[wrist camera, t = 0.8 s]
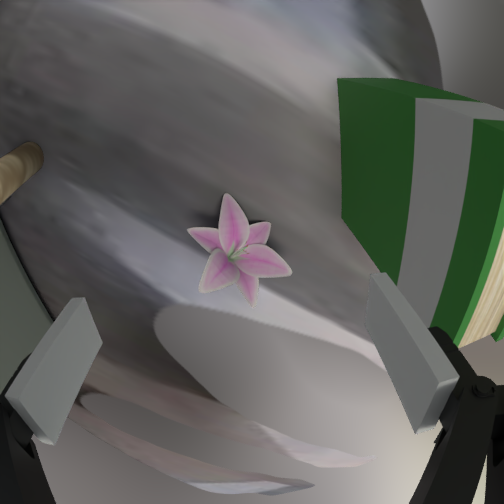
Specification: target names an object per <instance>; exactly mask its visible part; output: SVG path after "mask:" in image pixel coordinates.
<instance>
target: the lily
mask: <svg viewBox="0 0 504 504" xmlns="http://www.w3.org/2000/svg"><path fill="white" fill-rule="evenodd" d="M270 229H271V223H269V222H259V223H255V224H252V225H249V223H248V220H247V218H246V216H245V214H244V212H243V211H242V209H241V208H240V206H239V205H238V203H237V202H236V201H235V200H234V198H233V197H232V196H231V195H230V194H227V193H225V194H224V196H223V200H222V206H221V213H220V219H219V227H218V229H216V228H209V227H194V228H189V229H187V231H188V233H189V234H190V235H191V236H192V237H193V238H194V239H195V240H196V241H197V242H198V243H199V244H200V245H201V246H202V247H203V248H204V249H206V250H207V251H208V252H209V253H210V254H211V255H210V257H209V259H208V262H207V264H206V267H205V269H204V272H203V274H202V277H201V280H200V283H199V292H201V293H209V292H212V291H216V290H219V289H222V288H225V287H227V286H230V285H233V284H234V283H236V285H237V287H238V288H239V290H240V291H241V293H242V295H243V296H244V298H245V299H246V300H247V302H248V303H249V305H250V306H251V307H252V308H255V307H256V304H257V299H258V290H259V279H258V277H259V278H272V277H285V276H290V275H291V274H292V270H291V269H290V267H289V266H288V264H287V263H286V262H285V261H284V260H283V259H282V258H281V257H280V256H279V255H278V254H277V253H276V252H275V251H274V250H273V249H271V248H270V247H268V246H266V245H265V244H266V242H267V240H268V237H269V233H270Z"/></svg>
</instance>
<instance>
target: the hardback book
mask: <svg viewBox="0 0 504 504" xmlns="http://www.w3.org/2000/svg"><path fill="white" fill-rule="evenodd" d="M337 83H338V97H339V113H340V134H341V170H342V219H343V220H344V222H345V223H346V224H347V226H348V227H349V229H350V230H351V231H352V233H353V234H354V235H355V237H356V238H357V239H358V241H359V242H360V244H361V245H362V246H363V248H364V249H365V250H366V252H367V253H368V255H369V256H370V258H371V259H372V260H373V262H374V263H375V265H376V266H377V268H378V269H379V270H380V272H381V273H384V272H386V273H387V274H388V276H389V277H390V278H391V280H392V281H393V282H394V284H395V285H396V286H397V288H398V289H399V290H400V291H401V293H402V294H403V295H404V297H405V298H406V300H407V301H408V302H409V304H410V305H411V306H412V308H413V309H414V310H415V312H416V313H417V315H418V316H419V317H420V319H421V320H422V322H423V323H424V324H425V326H426V327H427V328H430V327H435V326H437V327H439V328H440V329H442V330H443V331H445V332H446V333H447V334H448V335H449V336H450V338H451V339H452V341H453V343H455V345H456V346H457V347H458V348H460V347H463V346H465V345H467V344H469V343H472V342H474V341H475V340H478V339H481V338H482V337H485V336H487V335H489V334H491V336H492V337H493V339H494V340H495V341H496V342H497V341H499V340H501V339H502V338H503V337H504V110H502V109H500V108H497V107H494V106H492V105H489V104H486V103H483V102H480V101H477V100H474V99H471V98H468V97H465V96H461V95H458V94H455V93H451V92H448V91H444V90H441V89H437V88H433V87H429V86H425V85H421V84H417V83H413V82H408V81H404V80H399V79H394V78H337Z"/></svg>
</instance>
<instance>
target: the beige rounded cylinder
mask: <svg viewBox="0 0 504 504" xmlns="http://www.w3.org/2000/svg"><path fill="white" fill-rule="evenodd" d="M43 161H44V156H43V152H42V150H41V148H40V147H39V146H38V145H37V144H36V143H34V142H26V143H24V144H22V145H21V146H19V147H17V148H16V149H14V150H13V151H11V152H9V153H8V154H6V155H5V156H3V157H2V158H0V204H1V203H2V202H4V201H5V200H6V199H7V198H8V197H9V196H10V195H11V194H12V193H13V192H14V191H15V190H17V189H18V188H19V187H20V186H21V185H22V184H23V183H25V182H26V181H27V180H28V179H29V178H30V177H32V176H33V175H34V174H35V173H36V172H37V171H39V170H40V169H41V167H42V165H43Z"/></svg>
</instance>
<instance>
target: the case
mask: <svg viewBox="0 0 504 504" xmlns="http://www.w3.org/2000/svg"><path fill="white" fill-rule="evenodd" d="M53 323H54V322H53V320H52V319H51V317H50V315H49V314H48V312H47V310H46V309H45V307H44V305H43V304H42V302H41V300H40V298H39V297H38V295H37V293H36V291H35V289H34V288H33V286H32V284H31V282H30V280H29V278H28V276H27V275H26V273H25V271H24V269H23V267H22V265H21V263H20V261H19V259H18V257H17V255H16V253H15V250H14V248H13V246H12V244H11V242H10V240H9V238H8V235H7V233H6V231H5V228H4V226H3V224H2V221H1V219H0V394H1V393H2V391H3V389H4V388H5V386H6V385H7V383H8V381H9V380H10V378H11V377H13V374H14V372H15V371H16V370H17V368H18V366H19V365H20V363H21V362H22V360H23V359H24V358H26V357H27V356H28V355H29V354H30V353H32V352H33V351H34V349H35V348H36V347H37V345H38V344H39V342H40V341H41V339H42V338H43V337H44V335H45V334H46V332H47V331H48V330H49V328H50V327H51V325H52V324H53Z"/></svg>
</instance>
